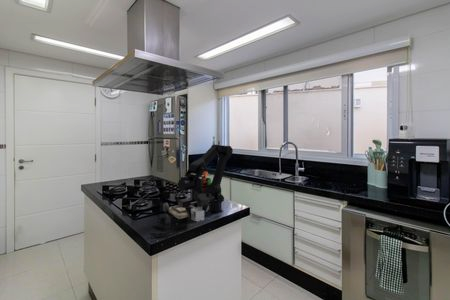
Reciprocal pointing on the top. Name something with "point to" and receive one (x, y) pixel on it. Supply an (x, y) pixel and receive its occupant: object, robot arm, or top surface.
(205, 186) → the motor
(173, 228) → the top surface
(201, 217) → the block
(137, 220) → the top surface
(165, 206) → the chassis
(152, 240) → the top surface
